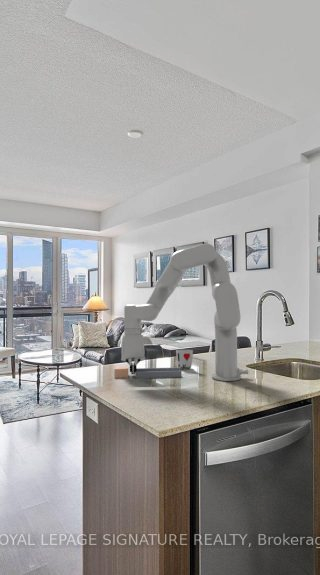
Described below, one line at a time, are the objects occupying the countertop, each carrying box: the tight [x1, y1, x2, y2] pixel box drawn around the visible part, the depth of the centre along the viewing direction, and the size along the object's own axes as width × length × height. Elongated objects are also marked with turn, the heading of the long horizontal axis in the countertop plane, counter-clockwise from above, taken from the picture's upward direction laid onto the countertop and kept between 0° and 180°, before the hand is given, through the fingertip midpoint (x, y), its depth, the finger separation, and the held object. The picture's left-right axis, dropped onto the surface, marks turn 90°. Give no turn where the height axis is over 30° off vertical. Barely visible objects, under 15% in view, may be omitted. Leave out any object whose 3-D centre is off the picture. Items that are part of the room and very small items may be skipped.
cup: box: [175, 349, 194, 371], centre depth 183 cm, size 8×8×10 cm
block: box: [113, 366, 129, 379], centre depth 166 cm, size 5×5×6 cm
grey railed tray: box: [134, 366, 182, 379], centre depth 168 cm, size 20×9×4 cm, turn 94°
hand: (133, 373), depth 167 cm, fingers closed
